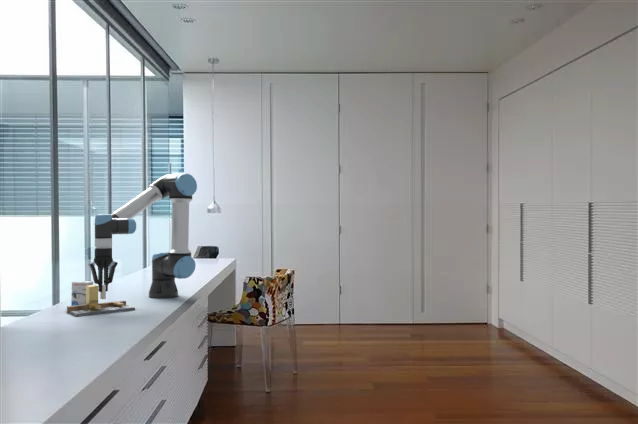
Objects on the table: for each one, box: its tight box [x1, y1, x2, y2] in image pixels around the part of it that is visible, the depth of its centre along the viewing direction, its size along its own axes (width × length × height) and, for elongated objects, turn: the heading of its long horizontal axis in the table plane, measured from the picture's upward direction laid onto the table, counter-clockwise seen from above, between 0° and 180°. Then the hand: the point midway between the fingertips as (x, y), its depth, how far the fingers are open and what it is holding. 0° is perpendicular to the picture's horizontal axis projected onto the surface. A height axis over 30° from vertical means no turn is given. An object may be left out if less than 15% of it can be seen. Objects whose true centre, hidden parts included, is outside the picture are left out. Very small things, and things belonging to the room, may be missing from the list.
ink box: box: [70, 280, 94, 306], centre depth 276 cm, size 9×5×12 cm, turn 84°
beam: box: [66, 300, 127, 314], centre depth 264 cm, size 26×9×3 cm, turn 130°
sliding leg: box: [86, 284, 101, 309], centre depth 263 cm, size 4×10×11 cm, turn 40°
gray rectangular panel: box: [69, 304, 136, 317], centre depth 261 cm, size 26×8×1 cm, turn 130°
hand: (103, 298), depth 268 cm, fingers closed
